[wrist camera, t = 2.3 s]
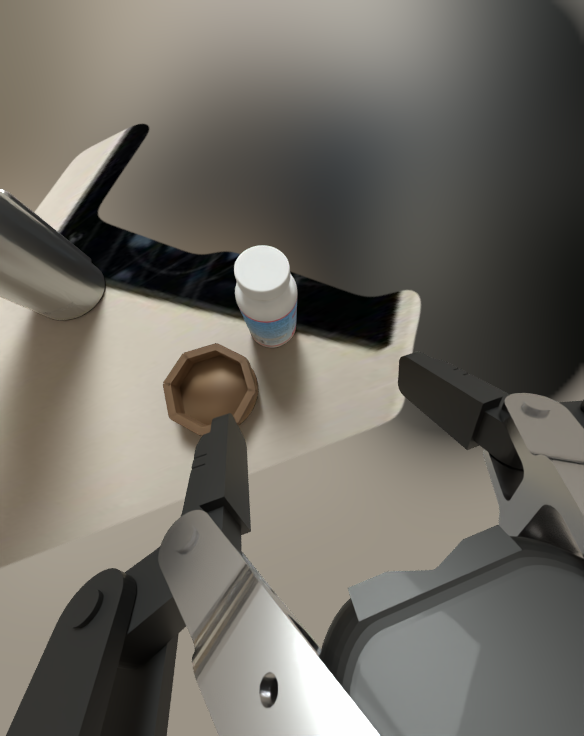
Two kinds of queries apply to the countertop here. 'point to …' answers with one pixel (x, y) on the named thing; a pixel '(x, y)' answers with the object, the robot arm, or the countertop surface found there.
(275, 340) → the pill bottle
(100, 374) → the countertop surface
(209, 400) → the bowl
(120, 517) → the countertop surface
